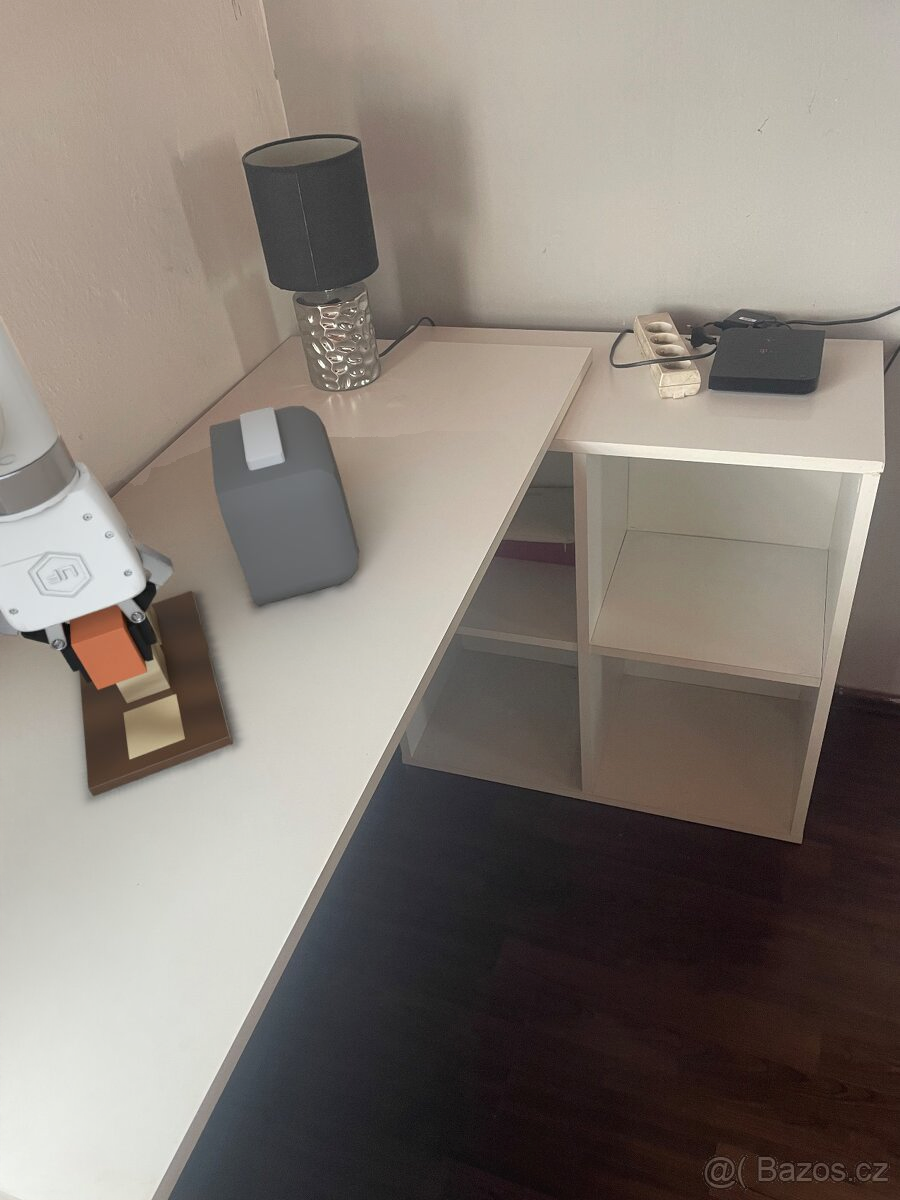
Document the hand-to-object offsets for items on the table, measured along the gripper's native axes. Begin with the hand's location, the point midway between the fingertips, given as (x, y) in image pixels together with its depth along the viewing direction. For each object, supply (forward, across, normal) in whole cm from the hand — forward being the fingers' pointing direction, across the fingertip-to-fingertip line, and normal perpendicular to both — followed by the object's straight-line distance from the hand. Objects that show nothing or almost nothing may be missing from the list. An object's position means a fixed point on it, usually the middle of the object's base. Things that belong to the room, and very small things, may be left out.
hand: (118, 659), depth 71 cm
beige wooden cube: (+8, 0, +13) cm, 15 cm away
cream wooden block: (+8, 0, +6) cm, 10 cm away
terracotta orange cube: (0, 0, 0) cm, 0 cm away
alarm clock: (+9, +18, +18) cm, 27 cm away
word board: (+9, 0, +6) cm, 11 cm away
